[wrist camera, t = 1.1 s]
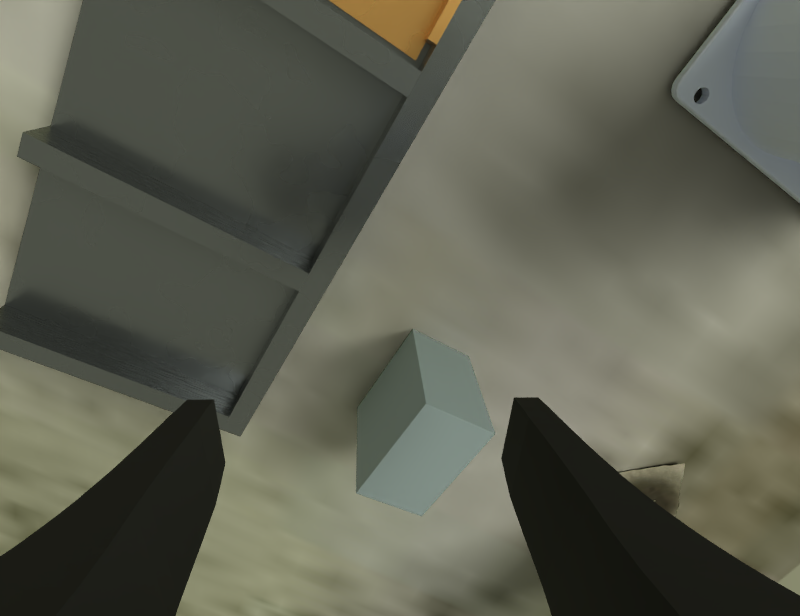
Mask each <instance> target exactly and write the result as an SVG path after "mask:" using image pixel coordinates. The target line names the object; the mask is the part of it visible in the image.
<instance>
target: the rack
mask: <svg viewBox="0 0 800 616" xmlns="http://www.w3.org/2000/svg"><path fill="white" fill-rule="evenodd" d="M494 2H495V0H83V3H82V7H81V11H80V15H79V19H78V22H77V26H76V30H75V34H74V38H73V42H72V46H71V50H70V54H69V58H68V61H67V65H66V69H65V73H64V77H63V81H62V85H61V89H60V93H59V96H58V100H57V104H56V108H55V112H54V116H53V120H52V124H51V126H48V127H43V128H39V129H35V130H30V131H26V132H23V134H22V138H21V142H20V147H19V151H18V155H17V157H19V158H21V159H23V160H25V161H27V162H30V163H32V164H34V165H36V166H38V167H40V170H39V174H38V178H37V182H36V186H35V190H34V194H33V198H32V201H31V205H30V209H29V213H28V217H27V221H26V225H25V229H24V233H23V236H22V240H21V244H20V248H19V252H18V256H17V260H16V264H15V268H14V272H13V275H12V279H11V283H10V287H9V291H8V295H7V299H6V303H5V305H4V306H2V307H1V308H0V350H3V351H6V352H9V353H11V354H14V355H17V356H20V357H22V358H25V359H28V360H31V361H33V362H36V363H39V364H42V365H44V366H47V367H50V368H53V369H56V370H58V371H61V372H64V373H67V374H69V375H72V376H75V377H78V378H80V379H83V380H86V381H89V382H91V383H94V384H97V385H100V386H102V387H105V388H108V389H111V390H113V391H116V392H119V393H122V394H124V395H127V396H130V397H133V398H135V399H138V400H141V401H144V402H146V403H149V404H152V405H155V406H157V407H160V408H163V409H166V410H168V411H171V412H174V411H176V410H177V409H178V408H179V407H180V406H181V405H182V404H183V403H184V402H185V401H186V400H205V399H214V402H215V408H216V413H217V419H218V424H219V429H221V430H224V431H226V432H229V433H232V434H235V435H237V436H241V434H242V433H243V431H244V429H245V428H246V426H247V424H248V422H249V421H250V419H251V417H252V416H253V414H254V412H255V410H256V409H257V407H258V405H259V404H260V402H261V400H262V399H263V397H264V395H265V393H266V392H267V390H268V388H269V387H270V385H271V383H272V381H273V380H274V378H275V376H276V375H277V373H278V371H279V369H280V368H281V366H282V364H283V363H284V361H285V359H286V357H287V356H288V354H289V352H290V351H291V349H292V347H293V346H294V344H295V342H296V340H297V339H298V337H299V335H300V334H301V332H302V330H303V328H304V327H305V325H306V323H307V322H308V320H309V318H310V316H311V315H312V313H313V311H314V310H315V308H316V306H317V304H318V303H319V301H320V299H321V298H322V296H323V294H324V292H325V291H326V289H327V287H328V286H329V284H330V282H331V281H332V279H333V277H334V275H335V274H336V272H337V270H338V269H339V267H340V265H341V263H342V262H343V260H344V258H345V257H346V255H347V253H348V251H349V250H350V248H351V246H352V245H353V243H354V241H355V239H356V238H357V236H358V234H359V233H360V231H361V229H362V228H363V226H364V224H365V222H366V221H367V219H368V217H369V216H370V214H371V212H372V210H373V209H374V207H375V205H376V204H377V202H378V200H379V198H380V197H381V195H382V193H383V192H384V190H385V188H386V186H387V185H388V183H389V181H390V180H391V178H392V176H393V174H394V173H395V171H396V169H397V168H398V166H399V164H400V163H401V161H402V159H403V157H404V156H405V154H406V152H407V151H408V149H409V147H410V145H411V144H412V142H413V140H414V139H415V137H416V135H417V133H418V132H419V130H420V128H421V127H422V125H423V123H424V121H425V120H426V118H427V116H428V115H429V113H430V111H431V110H432V108H433V106H434V104H435V103H436V101H437V99H438V98H439V96H440V94H441V92H442V91H443V89H444V87H445V86H446V84H447V82H448V80H449V79H450V77H451V75H452V74H453V72H454V70H455V68H456V67H457V65H458V63H459V62H460V60H461V58H462V56H463V55H464V53H465V51H466V50H467V48H468V46H469V45H470V43H471V41H472V39H473V38H474V36H475V34H476V33H477V31H478V29H479V27H480V26H481V24H482V22H483V21H484V19H485V17H486V15H487V14H488V12H489V10H490V9H491V7H492V5H493V3H494Z"/></svg>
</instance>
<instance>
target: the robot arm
mask: <svg viewBox="0 0 800 616" xmlns="http://www.w3.org/2000/svg"><path fill="white" fill-rule="evenodd" d="M700 88H701V90H702V96H701V97H700V99H699V100H698V101H697V102H695V101H694V95H695V93H696V91H697V90H699V89H700ZM671 93H672V97H673V98H674V100H675V101H676V102H678V103H679V104H680V105H681V106H682V107H684V108H685V109H686V110H687V111H688V112H690V113H691V114H692V115H693V116H695V117H696V118H697V119H698V120H699V121H701V122H702V123H703V124H704V125H705V126H707V127H708V128H709V129H710V130H711V131H713V132H714V133H715V134H716V135H718V136H719V137H720V138H721V139H722V140H724V141H725V142H726V143H727V144H728V145H730V146H731V147H732V148H733V149H734V150H736V151H737V152H738V153H739V154H741V155H742V156H743V157H744V158H745V159H747V160H748V161H749V162H750V163H751V164H753V165H754V166H755V167H756V168H757V169H759V170H760V171H761V172H762V173H764V174H765V175H766V176H767V177H768V178H770V179H771V180H772V181H773V182H774V183H776V184H777V185H778V186H779V187H780V188H782V189H783V190H784V191H785V192H787V193H788V194H789V195H790V196H791V197H793V198H794V199H795V200H796V201H797V202H799V203H800V0H736V2H735V3H734V4H733V6H732V7H731V8H730V9H729V11H728V12H727V13H726V15H725V16H724V17H723V18H722V20H721V21H720V22H719V24H718V25H717V26H716V27H715V29H714V30H713V31H712V33H711V34H710V35H709V36H708V38H707V39H706V40H705V42H704V43H703V44H702V45H701V47H700V48H699V49H698V51H697V52H696V53H695V54H694V56H693V57H692V58H691V60H690V61H689V62H688V64H687V65H686V66H685V67H684V69H683V70H682V71H681V73H680V74H679V75H678V76H677V78H676V79H675V81H674V83H673V84H672V89H671ZM502 463H503V467H504V472H505V477H506V481H507V485H508V489H509V494H510V498H511V501H512V503H513V506H514V509H515V512H516V515H517V518H518V520H519V523H520V526H521V529H522V532H523V534H524V537H525V540H526V542H527V545H528V548H529V551H530V553H531V556H532V559H533V562H534V564H535V567H536V570H537V573H538V575H539V578H540V581H541V584H542V586H543V589H544V592H545V595H546V599H547V602H548V605H549V608H550V611H551V615H552V616H800V596H799V595H798V594H796V593H794V592H792V591H791V590H789V589H787V588H785V587H784V586H782V585H780V584H778V583H777V582H775V581H773V580H771V579H770V578H768V577H766V576H764V575H763V574H761V573H759V572H758V571H756V570H754V569H753V568H751V567H749V566H748V565H746V564H745V563H743V562H741V561H740V560H738V559H737V558H735V557H733V556H732V555H730V554H729V553H727V552H726V551H724V550H723V549H721V548H719V547H718V546H716V545H715V544H713V543H712V542H710V541H709V540H707V539H706V538H704V537H703V536H701V535H700V534H698V533H697V532H695V531H694V530H692V529H691V528H689V527H688V526H687V525H685V524H684V523H682V522H681V521H680V520H678V519H677V518H676V517H674V516H673V515H672V514H670V513H669V512H667V511H666V510H665V509H663V508H662V507H661V506H659V505H658V504H657V503H655V502H654V501H653V500H651V499H650V498H649V497H648V496H646V495H645V494H644V493H643V492H641V491H640V490H639V489H638V488H636V487H635V486H634V485H633V484H632V483H630V482H629V481H628V480H627V479H626V478H624V477H623V476H622V475H621V474H620V473H618V472H617V471H616V470H615V469H614V468H613V467H612V466H610V465H609V464H608V463H607V462H606V461H605V460H604V459H603V458H601V457H600V456H599V455H598V454H597V453H596V452H595V451H594V450H593V449H592V448H590V447H589V446H588V445H587V444H586V443H585V442H584V441H583V440H582V439H581V438H580V437H579V436H578V435H577V434H576V433H575V432H574V431H572V430H571V429H570V428H569V427H568V426H567V425H566V424H565V423H564V422H563V421H562V420H561V419H560V418H559V417H558V416H557V415H556V414H555V413H554V412H553V411H552V410H551V409H550V408H549V407H548V406H547V405H546V404H545V403H543V402H542V401H541V400H540V399H539V398H514V401H513V405H512V410H511V415H510V420H509V425H508V429H507V434H506V439H505V444H504V449H503V454H502ZM224 467H225V458H224V453H223V447H222V441H221V436H220V430H219V424H218V419H217V413H216V408H215V402H214V399H205V400H186V401H185V402H184V403H183V404H182V405H181V406H180V407H179V408H178V409H177V410H176V411H174V412H173V413H172V414H171V415H170V416H169V417H168V418H167V419H166V420H165V421H164V422H163V423H162V424H161V425H160V426H159V427H158V428H157V429H156V430H155V431H154V432H153V433H152V434H150V435H149V436H148V437H147V438H146V439H145V440H144V441H143V442H142V443H141V444H140V445H139V446H138V447H137V448H136V449H134V450H133V451H132V452H131V453H130V454H129V455H128V456H127V457H126V458H125V459H124V460H123V461H121V462H120V463H119V464H118V465H117V466H116V467H115V468H114V469H113V470H111V471H110V472H109V473H108V474H107V475H106V476H105V477H103V478H102V479H101V480H100V481H99V482H97V483H96V484H95V485H94V486H93V487H92V488H90V489H89V490H88V491H87V492H86V493H85V494H83V495H82V496H81V497H80V498H79V499H77V500H76V501H75V502H74V503H72V504H71V505H70V506H69V507H67V508H66V509H65V510H64V511H62V512H61V513H60V514H58V515H57V516H56V517H55V518H53V519H52V520H51V521H49V522H48V523H47V524H45V525H44V526H43V527H41V528H40V529H38V530H37V531H36V532H34V533H33V534H32V535H30V536H29V537H28V538H26V539H25V540H24V541H22V542H21V543H19V544H18V545H16V546H15V547H14V548H12V549H11V550H9V551H8V552H6V553H5V554H3V555H2V556H0V616H175V615H176V612H177V609H178V606H179V603H180V600H181V598H182V595H183V592H184V590H185V587H186V584H187V581H188V579H189V576H190V573H191V571H192V568H193V565H194V563H195V560H196V557H197V554H198V552H199V549H200V546H201V544H202V541H203V538H204V535H205V533H206V530H207V527H208V524H209V522H210V519H211V516H212V513H213V511H214V508H215V505H216V501H217V497H218V493H219V489H220V485H221V480H222V476H223V471H224Z"/></svg>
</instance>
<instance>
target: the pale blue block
mask: <svg viewBox="0 0 800 616" xmlns="http://www.w3.org/2000/svg"><path fill="white" fill-rule="evenodd" d="M494 435H495V431H494V429H493V426H492V423H491V420H490V417H489V414H488V411H487V408H486V406H485V403H484V400H483V397H482V394H481V391H480V388H479V385H478V383H477V380H476V377H475V374H474V371H473V368H472V365H471V362H470V359H469V357H468V356H467V355H465V354H463V353H461V352H459V351H457V350H455V349H453V348H451V347H449V346H446V345H444V344H442V343H440V342H438V341H436V340H434V339H432V338H430V337H428V336H426V335H424V334H422V333H420V332H418V331H416V330H414V329H412V331H411V332H410V334H409V335H408V336H407V338H406V339H405V341H404V342H403V344H402V345H401V346H400V348H399V349H398V351H397V352H396V354H395V355H394V356H393V358H392V359H391V361H390V362H389V364H388V365H387V366H386V368H385V369H384V371H383V372H382V373H381V375H380V376H379V378H378V379H377V381H376V382H375V383H374V385H373V386H372V388H371V389H370V391H369V392H368V393H367V395H366V396H365V398H364V399H363V401H362V402H361V403H360V405H359V406H358V408H357V471H356V493H357V494H359V495H362V496H365V497H368V498H371V499H374V500H377V501H379V502H382V503H385V504H388V505H391V506H394V507H397V508H399V509H402V510H405V511H408V512H411V513H414V514H417V515H419V516H422V515H423V514H424V513H425V512H426V511H427V510H428V509H429V507H430V506H431V505H432V504H433V503H434V502H435V501H436V500H437V498H438V497H439V496H440V495H441V494H442V493H443V492H444V491H445V489H446V488H447V487H448V486H449V485H450V484H451V483H452V482H453V481H454V479H455V478H456V477H457V476H458V475H459V474H460V473H461V472H462V470H463V469H464V468H465V467H466V466H467V465H468V464H469V463H470V461H471V460H472V459H473V458H474V457H475V456H476V455H477V454H478V452H479V451H480V450H481V449H482V448H483V447H484V446H485V445H486V444H487V442H488V441H489V440H490V439H491V438H492V437H493V436H494Z"/></svg>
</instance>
